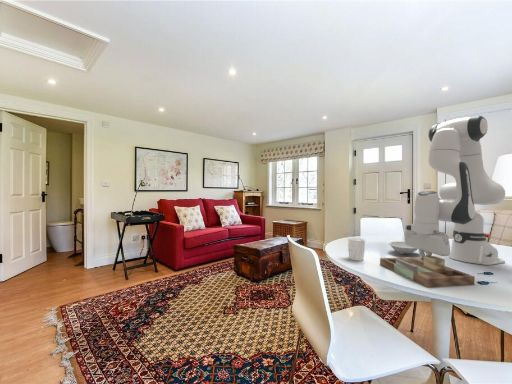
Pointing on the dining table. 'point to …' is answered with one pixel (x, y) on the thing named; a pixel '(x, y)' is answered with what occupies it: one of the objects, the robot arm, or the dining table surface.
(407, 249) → the dish
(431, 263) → the maple block
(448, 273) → the brown wooden compartment tray
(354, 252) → the white cup
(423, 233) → the robot arm
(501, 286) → the dining table surface
